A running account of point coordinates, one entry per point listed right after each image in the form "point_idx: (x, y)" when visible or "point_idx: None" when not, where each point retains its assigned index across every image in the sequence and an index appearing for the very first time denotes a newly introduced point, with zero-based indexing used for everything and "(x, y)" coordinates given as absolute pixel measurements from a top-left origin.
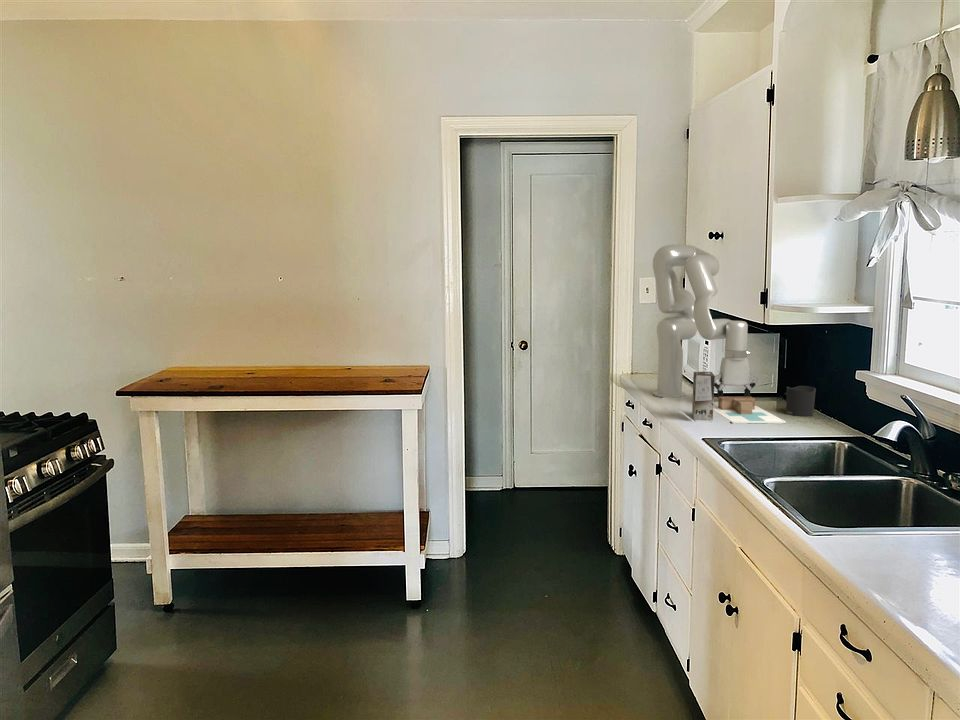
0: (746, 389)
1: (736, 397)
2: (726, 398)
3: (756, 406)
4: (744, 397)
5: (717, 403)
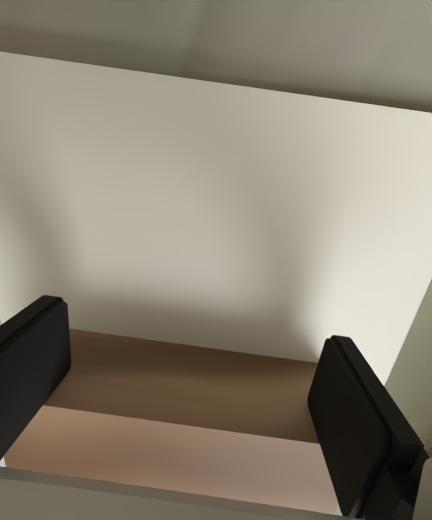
0: (375, 501)
1: (175, 456)
2: (54, 472)
3: (392, 348)
4: (258, 471)
5: (111, 168)
